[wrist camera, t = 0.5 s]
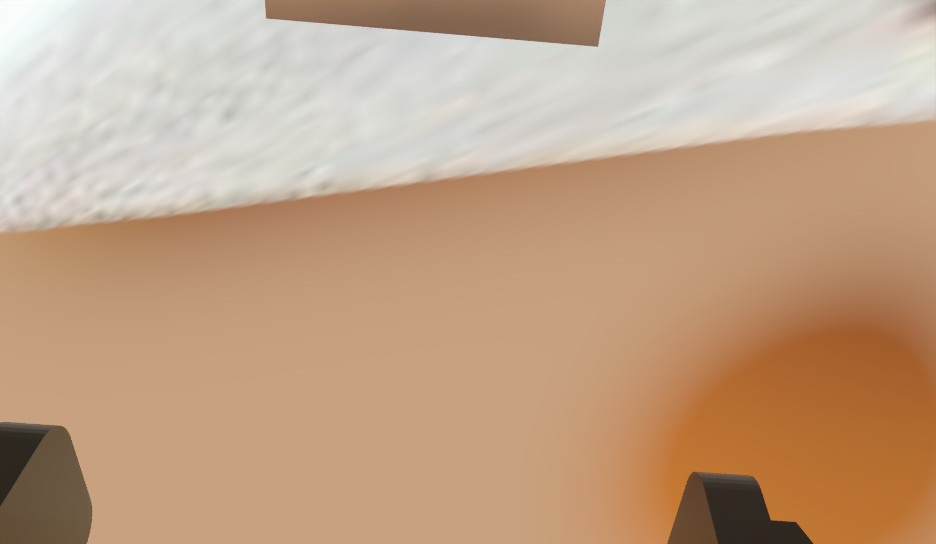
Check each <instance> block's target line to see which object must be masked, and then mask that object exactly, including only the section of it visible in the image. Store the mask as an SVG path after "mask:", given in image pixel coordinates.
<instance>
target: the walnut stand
mask: <svg viewBox="0 0 936 544" xmlns="http://www.w3.org/2000/svg"><path fill="white" fill-rule="evenodd" d="M605 1H606V0H265V7H266V18H268V19H280V20H292V21H304V22H315V23H327V24H339V25H350V26H362V27H374V28H386V29H397V30H409V31H421V32H433V33H444V34H456V35H468V36H480V37H491V38H503V39H515V40H527V41H538V42H550V43H562V44H574V45H585V46H597V47H598V43H599V37H600V31H601V25H602V19H603V13H604V7H605Z"/></svg>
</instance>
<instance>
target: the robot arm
mask: <svg viewBox="0 0 936 544" xmlns="http://www.w3.org/2000/svg"><path fill="white" fill-rule="evenodd" d="M91 522H92V505H91V500H90V497H89V494H88V490H87V487H86V484H85V481H84V478H83V475H82V472H81V469H80V466H79V462H78V459H77V456H76V453H75V450H74V447H73V444H72V440H71V437H70V435H69V433H68V431H67V430H66V429H65V428H64V427H62V426H54V425H40V424H25V423H11V422H1V423H0V544H86V543H87V541H88V537H89V533H90V528H91ZM668 544H813V543H812V541H811V540H810V539H809V538H808V537H807V535H806V534H805V533H804V532H803V530H802V529H801V528H800V527H799V525H798V524H797V523H796V522H786V521H771V520H770V517H769V514H768V511H767V507H766V504H765V501H764V498H763V495H762V492H761V489H760V486H759V484H758V482H757V481H756V480H755V478H754V477H752V476H748V475H733V474H718V473H704V472H693V473H692V474H691V475H690V476H689V478H688V481H687V484H686V487H685V491H684V493H683V497H682V500H681V503H680V506H679V509H678V512H677V515H676V519H675V522H674V525H673V528H672V531H671V534H670V537H669V540H668Z"/></svg>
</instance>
